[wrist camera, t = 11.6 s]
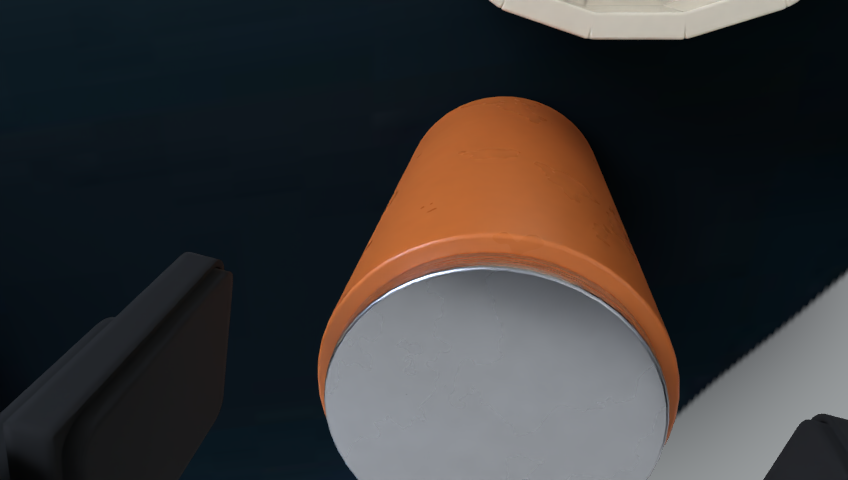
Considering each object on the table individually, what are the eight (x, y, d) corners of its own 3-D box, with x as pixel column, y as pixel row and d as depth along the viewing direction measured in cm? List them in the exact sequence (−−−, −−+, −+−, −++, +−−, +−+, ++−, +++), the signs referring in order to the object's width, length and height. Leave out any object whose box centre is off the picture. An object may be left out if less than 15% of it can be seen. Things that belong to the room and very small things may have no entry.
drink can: (442, 65, 20) (358, 192, 9) (631, 131, 20) (768, 332, 9) (387, 237, 23) (274, 488, 12) (554, 294, 23) (590, 596, 12)
